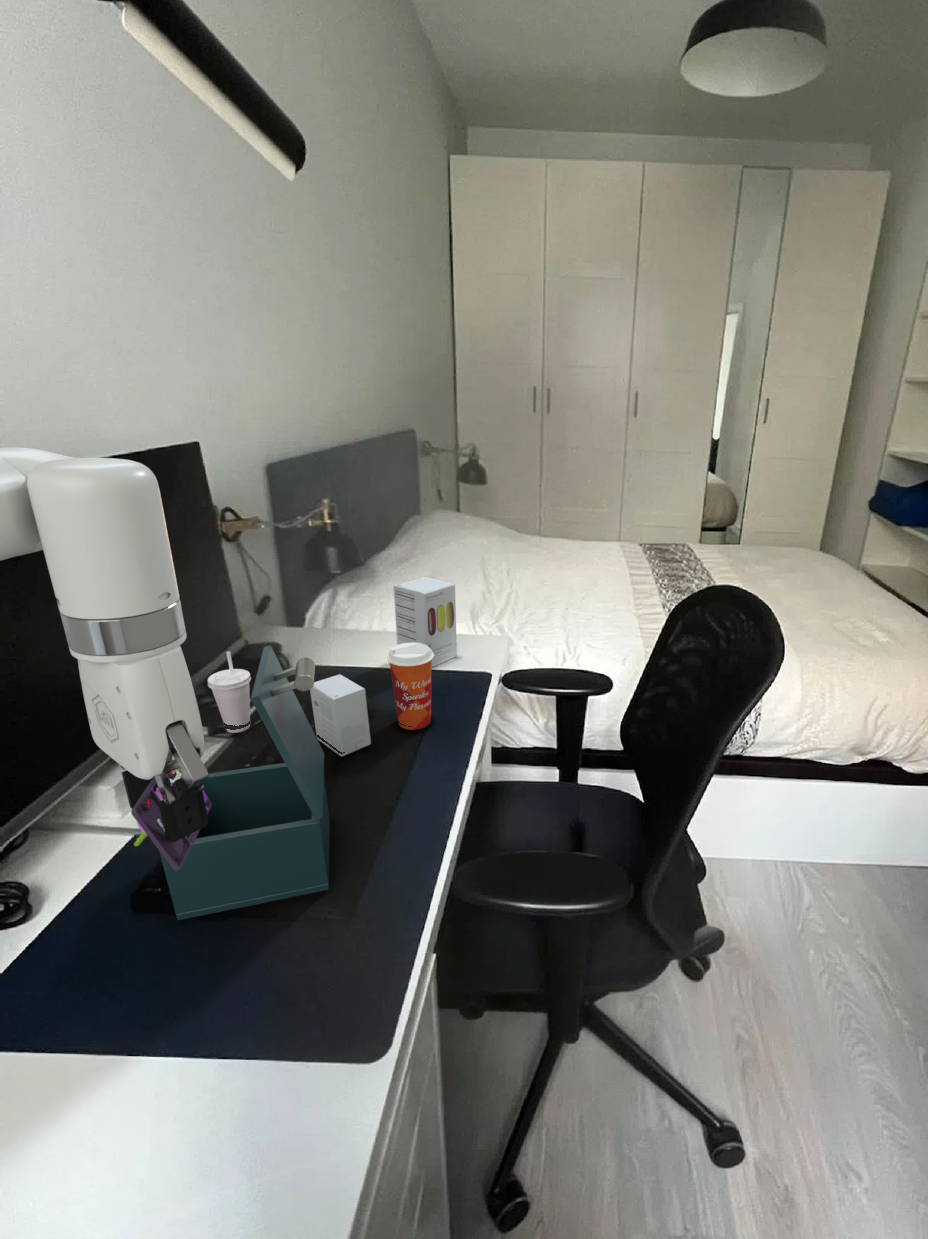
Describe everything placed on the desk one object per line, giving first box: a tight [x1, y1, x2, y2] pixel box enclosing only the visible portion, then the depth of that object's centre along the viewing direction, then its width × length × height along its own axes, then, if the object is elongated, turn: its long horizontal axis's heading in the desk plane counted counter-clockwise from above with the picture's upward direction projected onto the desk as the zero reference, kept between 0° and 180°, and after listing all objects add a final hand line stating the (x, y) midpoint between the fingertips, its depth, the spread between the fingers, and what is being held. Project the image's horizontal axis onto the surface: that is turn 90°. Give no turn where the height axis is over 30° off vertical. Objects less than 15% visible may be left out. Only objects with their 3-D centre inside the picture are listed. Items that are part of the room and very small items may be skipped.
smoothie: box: [207, 650, 252, 734], centre depth 105 cm, size 6×6×14 cm
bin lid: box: [250, 644, 325, 820], centre depth 74 cm, size 17×14×5 cm
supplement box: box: [393, 576, 458, 668], centre depth 135 cm, size 10×9×17 cm
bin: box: [158, 762, 331, 921], centre depth 76 cm, size 16×14×10 cm
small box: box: [309, 673, 372, 757], centre depth 103 cm, size 8×6×10 cm
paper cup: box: [386, 643, 434, 731], centre depth 109 cm, size 8×8×14 cm
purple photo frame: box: [130, 755, 212, 871], centre depth 55 cm, size 7×5×9 cm
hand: (169, 815), depth 55 cm, fingers closed on purple photo frame, 5 cm apart
